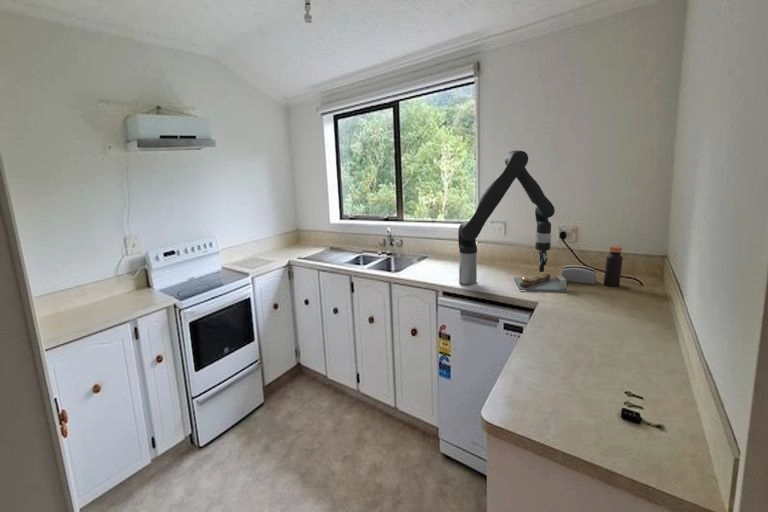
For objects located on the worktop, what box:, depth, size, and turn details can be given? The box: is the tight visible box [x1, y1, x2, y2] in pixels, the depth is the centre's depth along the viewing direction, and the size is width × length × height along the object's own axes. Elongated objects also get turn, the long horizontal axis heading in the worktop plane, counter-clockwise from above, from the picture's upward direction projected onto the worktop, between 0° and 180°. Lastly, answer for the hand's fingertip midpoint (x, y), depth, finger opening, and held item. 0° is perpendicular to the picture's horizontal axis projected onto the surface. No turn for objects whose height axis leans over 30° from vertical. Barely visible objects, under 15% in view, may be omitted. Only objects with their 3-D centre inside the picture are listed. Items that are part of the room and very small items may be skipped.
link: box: [520, 273, 551, 287], centre depth 190 cm, size 21×4×2 cm, turn 119°
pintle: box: [521, 276, 529, 282], centre depth 186 cm, size 3×3×1 cm
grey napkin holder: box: [560, 264, 597, 285], centre depth 193 cm, size 17×5×10 cm, turn 58°
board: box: [513, 276, 568, 293], centre depth 190 cm, size 22×18×1 cm
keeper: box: [555, 275, 567, 290], centre depth 183 cm, size 3×7×5 cm, turn 169°
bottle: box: [603, 245, 624, 288], centre depth 183 cm, size 7×7×20 cm
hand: (541, 271), depth 201 cm, fingers closed
